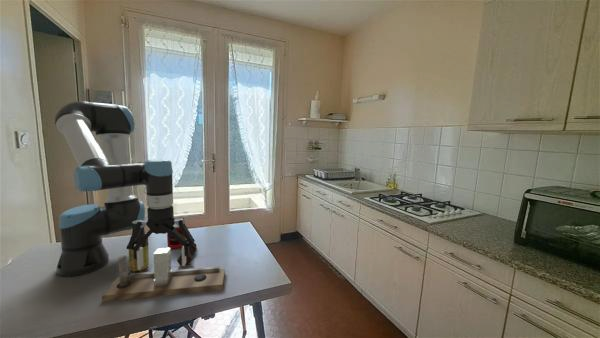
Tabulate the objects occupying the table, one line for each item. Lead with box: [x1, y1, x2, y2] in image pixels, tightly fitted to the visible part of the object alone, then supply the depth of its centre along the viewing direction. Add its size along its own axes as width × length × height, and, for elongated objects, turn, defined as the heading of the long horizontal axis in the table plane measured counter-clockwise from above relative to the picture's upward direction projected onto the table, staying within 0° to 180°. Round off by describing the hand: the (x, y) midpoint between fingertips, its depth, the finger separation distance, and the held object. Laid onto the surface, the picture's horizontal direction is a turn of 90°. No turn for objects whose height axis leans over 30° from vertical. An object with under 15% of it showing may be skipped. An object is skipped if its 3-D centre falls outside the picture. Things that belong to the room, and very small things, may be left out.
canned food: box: [166, 224, 186, 251], centre depth 112 cm, size 8×8×11 cm
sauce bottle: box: [128, 220, 150, 274], centre depth 91 cm, size 6×6×20 cm
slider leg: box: [153, 247, 173, 286], centre depth 82 cm, size 4×6×11 cm, turn 13°
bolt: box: [176, 242, 198, 267], centre depth 103 cm, size 6×5×15 cm
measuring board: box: [101, 254, 226, 302], centre depth 83 cm, size 36×10×12 cm, turn 103°
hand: (162, 265), depth 82 cm, fingers open, 13 cm apart
